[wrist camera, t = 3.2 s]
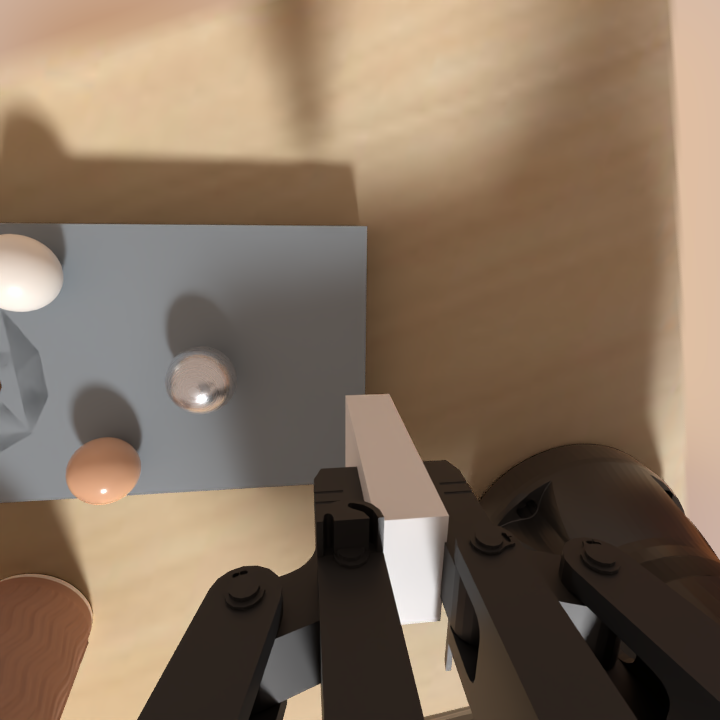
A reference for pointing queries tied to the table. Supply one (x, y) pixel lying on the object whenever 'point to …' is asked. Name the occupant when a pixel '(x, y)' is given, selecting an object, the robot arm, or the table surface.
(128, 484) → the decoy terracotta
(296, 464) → the tray
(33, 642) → the coffee cup
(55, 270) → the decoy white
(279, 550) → the table surface
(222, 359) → the steel ball
